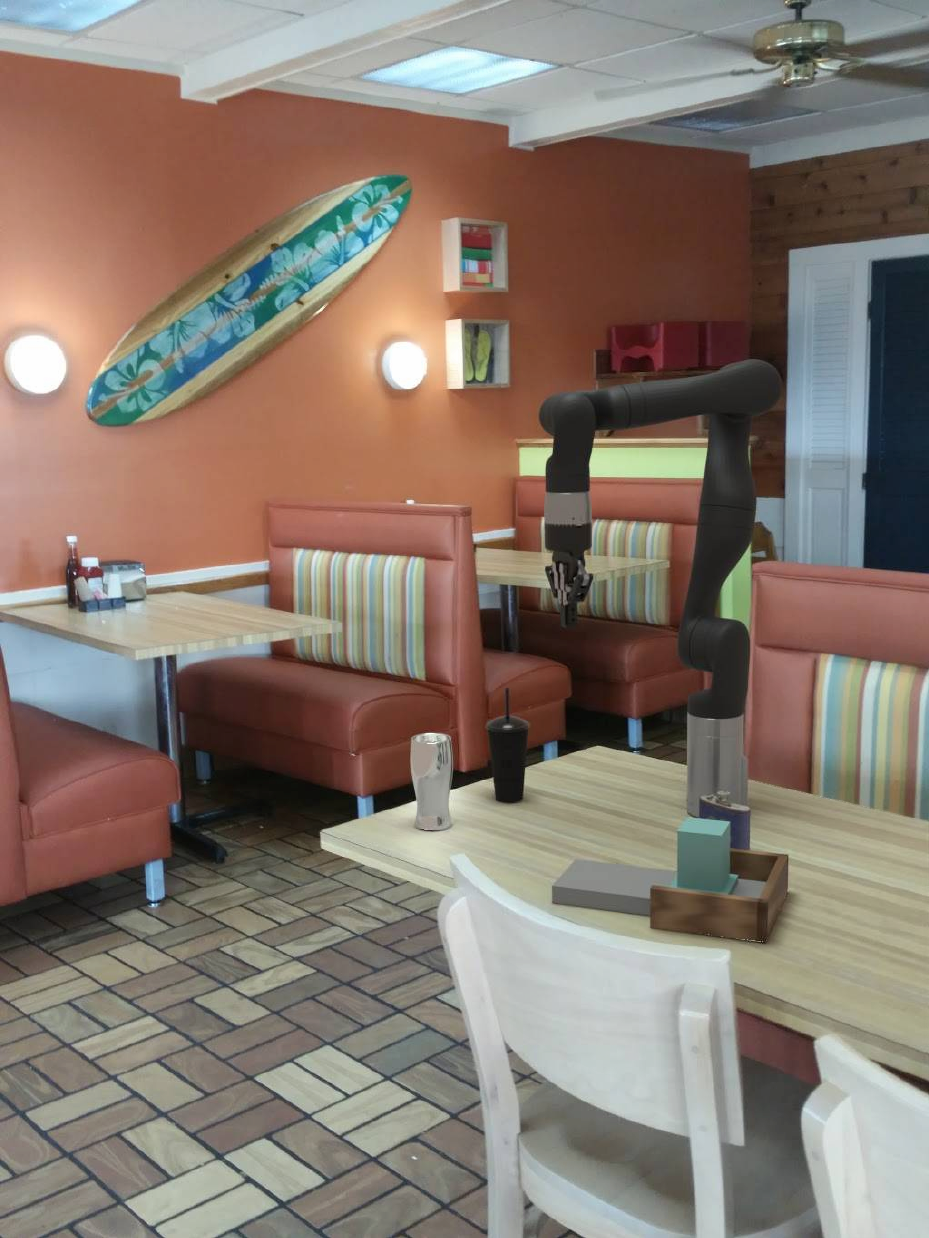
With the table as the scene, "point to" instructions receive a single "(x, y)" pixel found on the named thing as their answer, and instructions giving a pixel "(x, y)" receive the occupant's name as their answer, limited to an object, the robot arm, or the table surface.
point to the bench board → (622, 886)
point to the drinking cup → (508, 754)
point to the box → (726, 901)
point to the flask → (728, 817)
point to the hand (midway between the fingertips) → (569, 626)
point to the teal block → (704, 857)
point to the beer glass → (432, 779)
